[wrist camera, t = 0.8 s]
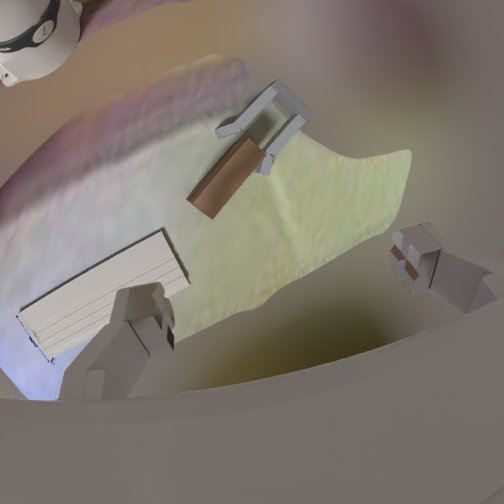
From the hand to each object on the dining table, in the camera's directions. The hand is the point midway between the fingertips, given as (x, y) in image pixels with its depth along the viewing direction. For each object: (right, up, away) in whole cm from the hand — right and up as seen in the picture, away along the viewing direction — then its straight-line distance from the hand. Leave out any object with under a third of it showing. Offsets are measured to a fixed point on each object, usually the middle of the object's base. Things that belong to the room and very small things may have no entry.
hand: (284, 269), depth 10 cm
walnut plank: (-7, +13, +39) cm, 42 cm away
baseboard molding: (-27, -8, +38) cm, 47 cm away
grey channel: (+1, +22, +39) cm, 45 cm away
